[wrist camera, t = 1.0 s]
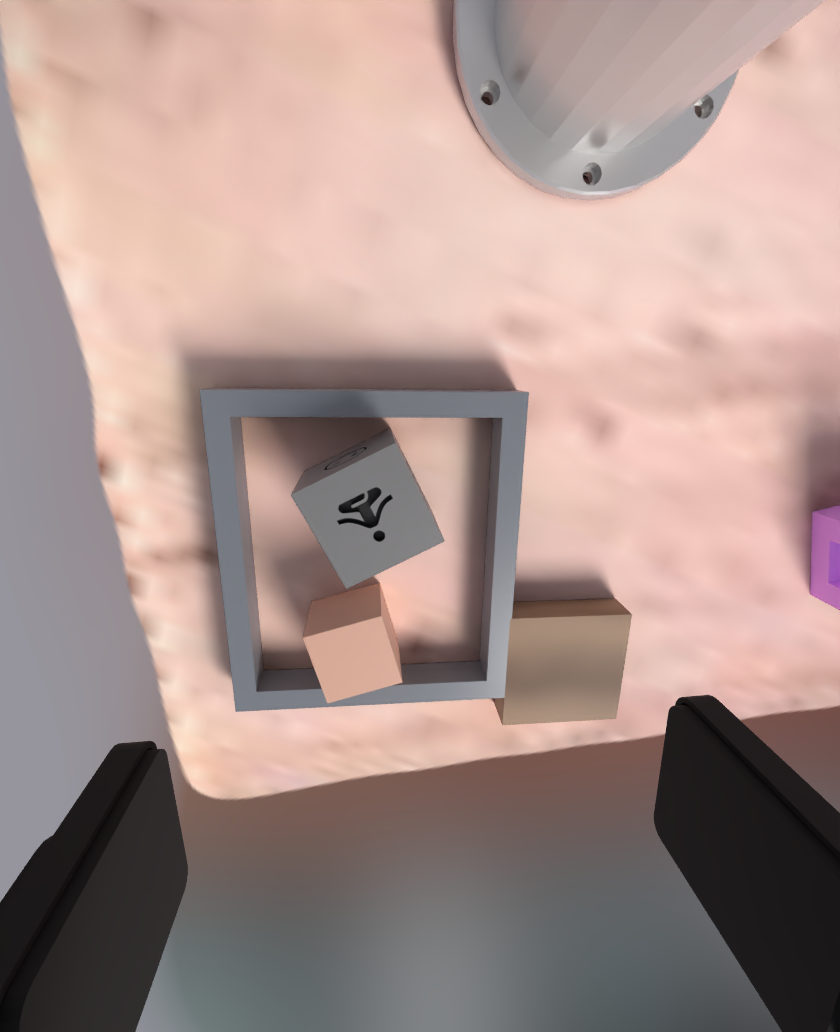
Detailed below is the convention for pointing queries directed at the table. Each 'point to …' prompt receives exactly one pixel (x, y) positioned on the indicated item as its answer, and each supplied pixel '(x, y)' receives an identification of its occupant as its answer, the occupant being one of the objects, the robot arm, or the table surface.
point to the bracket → (826, 556)
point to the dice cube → (367, 509)
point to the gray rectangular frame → (236, 548)
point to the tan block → (564, 661)
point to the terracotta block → (352, 643)
